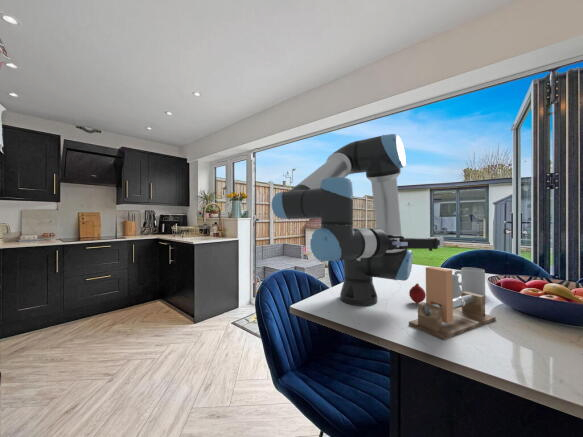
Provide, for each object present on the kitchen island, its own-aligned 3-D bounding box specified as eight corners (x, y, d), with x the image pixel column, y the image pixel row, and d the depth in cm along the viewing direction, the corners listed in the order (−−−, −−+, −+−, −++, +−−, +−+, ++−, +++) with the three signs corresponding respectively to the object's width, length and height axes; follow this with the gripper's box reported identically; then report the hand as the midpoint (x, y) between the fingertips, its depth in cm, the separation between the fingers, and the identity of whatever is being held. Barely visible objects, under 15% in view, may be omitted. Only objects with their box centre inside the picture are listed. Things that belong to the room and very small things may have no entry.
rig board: (443, 339, 69) (442, 313, 69) (408, 324, 79) (408, 301, 79) (495, 320, 81) (495, 297, 81) (460, 309, 91) (460, 289, 91)
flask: (469, 302, 98) (468, 277, 98) (449, 301, 99) (448, 277, 99) (460, 296, 105) (460, 273, 105) (441, 296, 106) (441, 273, 106)
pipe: (431, 318, 73) (431, 307, 73) (421, 314, 76) (421, 304, 76) (480, 303, 84) (480, 294, 84) (470, 301, 87) (470, 292, 87)
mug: (489, 294, 107) (488, 269, 107) (480, 298, 103) (479, 272, 103) (459, 288, 118) (458, 265, 118) (449, 291, 113) (449, 267, 113)
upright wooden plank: (446, 323, 73) (446, 271, 73) (426, 315, 79) (425, 267, 79) (453, 321, 74) (452, 270, 74) (432, 313, 80) (431, 266, 80)
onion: (425, 307, 94) (424, 286, 94) (408, 304, 97) (408, 284, 97) (426, 302, 99) (425, 282, 99) (410, 300, 102) (410, 281, 102)
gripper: (335, 252, 73) (385, 249, 84) (411, 264, 52) (465, 258, 62) (335, 227, 74) (384, 227, 84) (410, 229, 52) (464, 228, 62)
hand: (419, 240), depth 73 cm, fingers open, 13 cm apart
